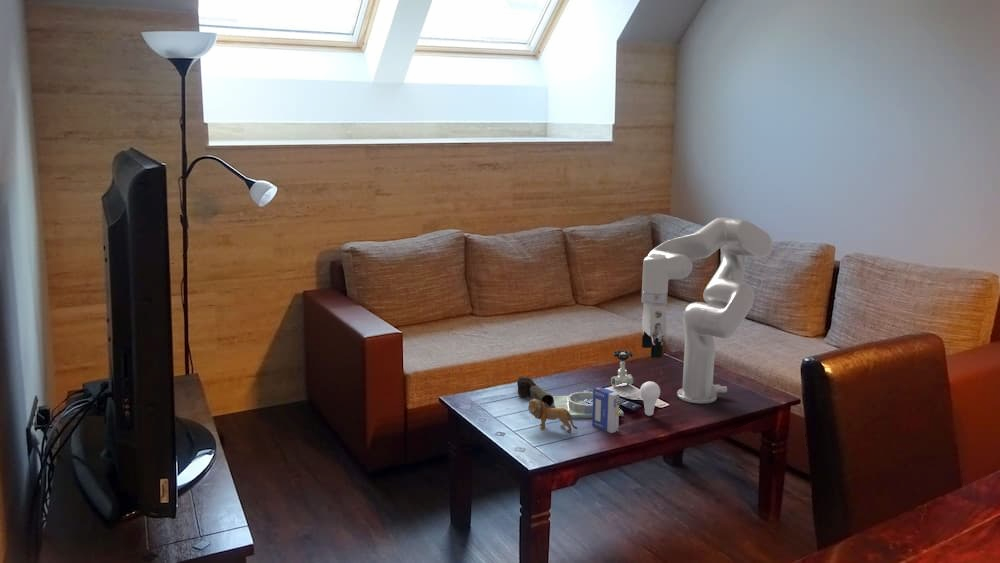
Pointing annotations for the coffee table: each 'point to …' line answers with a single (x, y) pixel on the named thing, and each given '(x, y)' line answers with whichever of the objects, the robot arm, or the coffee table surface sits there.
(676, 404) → the coffee table surface
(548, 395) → the brown camo elongated piece
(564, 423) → the lion figurine
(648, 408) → the lightbulb
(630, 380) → the valve
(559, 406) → the duct collar
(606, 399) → the walkman
